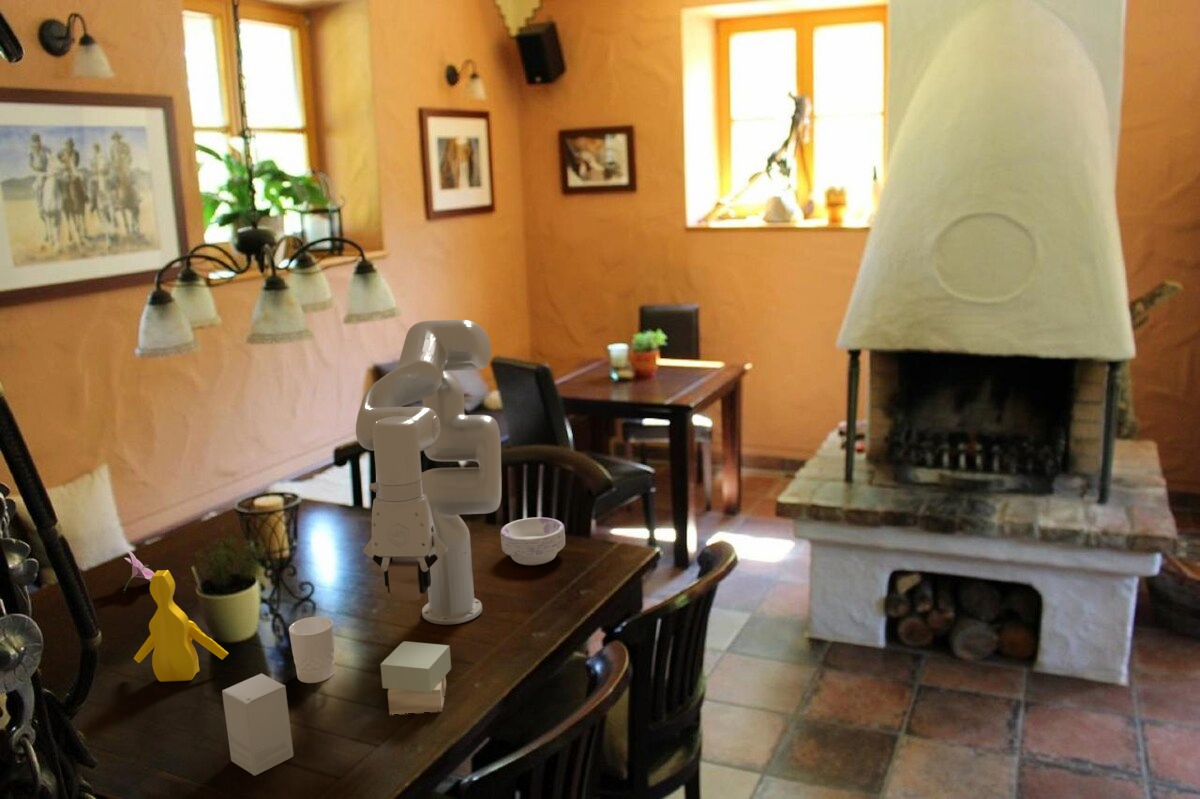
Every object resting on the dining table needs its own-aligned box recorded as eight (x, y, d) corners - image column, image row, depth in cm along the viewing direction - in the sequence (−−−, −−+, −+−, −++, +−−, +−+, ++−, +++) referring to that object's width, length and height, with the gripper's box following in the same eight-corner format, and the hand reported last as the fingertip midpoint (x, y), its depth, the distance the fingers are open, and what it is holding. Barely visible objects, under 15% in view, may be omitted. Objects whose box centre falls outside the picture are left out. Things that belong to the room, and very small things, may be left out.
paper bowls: (489, 559, 250) (487, 527, 248) (538, 542, 259) (537, 512, 258) (529, 576, 239) (527, 543, 237) (579, 557, 248) (577, 526, 247)
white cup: (320, 661, 201) (315, 613, 199) (346, 672, 196) (341, 623, 194) (285, 677, 195) (280, 627, 193) (311, 689, 190) (305, 638, 188)
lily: (143, 606, 233) (161, 565, 234) (94, 587, 233) (111, 546, 233) (163, 600, 245) (180, 562, 246) (116, 582, 244) (133, 544, 245)
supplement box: (295, 756, 169) (287, 685, 166) (253, 777, 163) (244, 704, 160) (270, 741, 173) (262, 671, 171) (229, 760, 168) (220, 689, 165)
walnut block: (399, 587, 183) (396, 555, 182) (426, 588, 183) (424, 555, 181) (390, 599, 178) (387, 566, 177) (418, 599, 178) (416, 566, 177)
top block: (405, 664, 190) (403, 641, 189) (451, 668, 187) (449, 645, 186) (382, 687, 181) (380, 664, 180) (430, 693, 179) (428, 668, 178)
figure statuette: (233, 665, 201) (220, 557, 196) (220, 685, 193) (205, 573, 188) (141, 669, 201) (125, 561, 196) (123, 689, 193) (106, 578, 188)
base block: (396, 690, 189) (394, 668, 188) (446, 687, 190) (444, 665, 189) (389, 716, 180) (387, 692, 179) (442, 713, 181) (440, 689, 180)
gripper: (344, 496, 174) (353, 598, 178) (443, 496, 172) (451, 599, 176) (359, 483, 181) (368, 581, 185) (455, 483, 179) (462, 582, 183)
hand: (408, 589), depth 180 cm, fingers closed on walnut block, 5 cm apart
